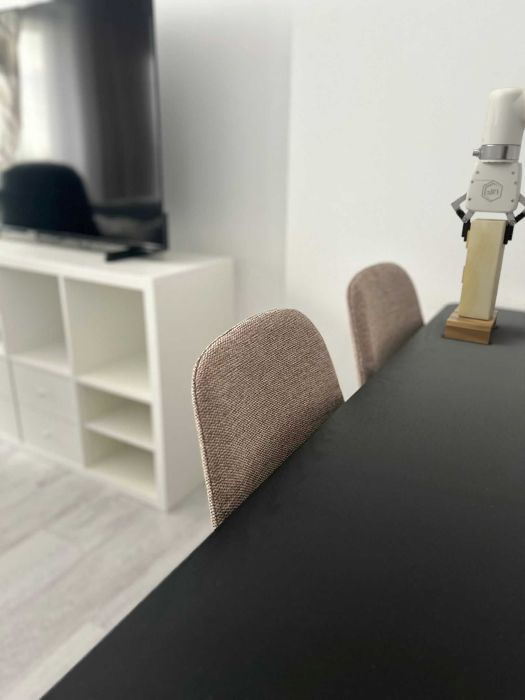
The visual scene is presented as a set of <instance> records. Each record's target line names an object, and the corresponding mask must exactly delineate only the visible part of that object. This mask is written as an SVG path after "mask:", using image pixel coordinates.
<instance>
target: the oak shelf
mask: <svg viewBox="0 0 525 700" xmlns="http://www.w3.org/2000/svg"><path fill="white" fill-rule="evenodd" d="M458 311H459V304H458V306H457V307H456V308H455V309H454V311H453V312H452V313H451V314H450V316H449V317H448V318H447V319H446V322H445V330H444V335H443V336H444V338H445V339H451V340H458V341H465V342H471V343H475V344H476V343H477V344H483V345H488V344H489V343H490V338H491V332H492V329H496V326H497V321H498V316H499V310H498V309H494V314H493V315H492V316H491V318H490V319H489V320H483V319H476V318H469V317H463V316H458Z"/></svg>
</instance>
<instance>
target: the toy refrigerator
mask: <svg viewBox="0 0 525 700" xmlns="http://www.w3.org/2000/svg"><path fill="white" fill-rule="evenodd" d="M470 222H471V228H470V231H468V234H467V241H466V242H465V249H466V256H465V264H464V265H463V269H462V276H461V284H462V285H461V292H460V299H459V304H458V305H459V311H458V316H463V317H469V318H476V319H483V320H489V319H490V318H491V316H492V315H493V314H494V310H496V303H497V296H498V291H499V285H500V279H501V272H502V268H503V267H502V266H503V261H504V254H505V250H506V249H505V248H506V245H504V244H503V242H504V236H505V230H506V226H507V225H508V222H509V221H508V219H501V218H500V219H499V218H497V219H496V218H475V219H472V220H470Z"/></svg>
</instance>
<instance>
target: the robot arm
mask: <svg viewBox="0 0 525 700" xmlns="http://www.w3.org/2000/svg"><path fill="white" fill-rule="evenodd" d="M524 132H525V88H524V87H503V88H496V89H494V90H493V91H491V93H489V96H488V99H487V105H486V112H485V119H484V125H483V131H482V138H481V139H482V140H481V143H480V144H481V145H480V147H478V148H477V149H473V151H472V157H476V158H478V162H476V161H475V162H474V164H473V167H472V169H471V172H470V177H469V181H468V184H467V185H468V186H467V190H466V192H465V193H463V194H462V195H460V196H459V197H457V198H456V199H454V200H453V201H451V202H450V206H451V207H452V209H453V211H454V212H455V214H456V215H457V216H458V218H459V219H460V220H461V222H462V229H461V235H460V236H461V238H463V242H464V243H466V242H467V234H468V231H470V228H471V218H473V216H474V215H475V213H493V214H494V213H495V214H505V216H506V220H508V221H509V222H508V225H507V226H506V230H505V236H504V242H503V244H504V245H505V246H507V245H508V244H509V241H510V242H512V241H513V237H514V236H513V235H514V230H515V225H517V224H518V223H519V222H521V221H522V220H524V218H525V196H524V195H523V194H522V193H521V189H522V178H523V163H522V162H520V161H519V160H520V155H521V150H522V149H521V148H522V143H523V139H524ZM463 202H465V203H464V208H465V210H467V211H466V212H465V211H464V210H463V208H462V207H461V204H462V203H463ZM519 204H521V206H523V207H524V209H523V210H522V211H521V212H519V213H518V214H517V215H515V213H514V212H515V211H516V210H517V209H518V206H519Z"/></svg>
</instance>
